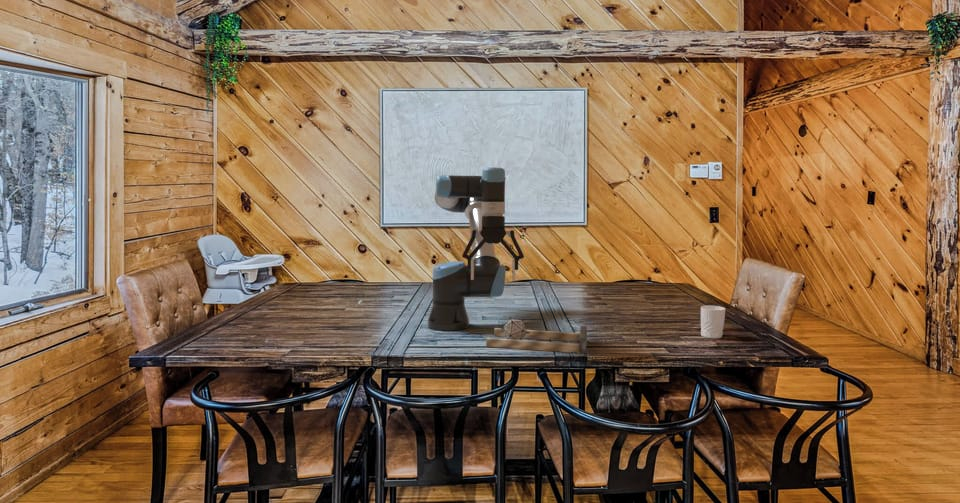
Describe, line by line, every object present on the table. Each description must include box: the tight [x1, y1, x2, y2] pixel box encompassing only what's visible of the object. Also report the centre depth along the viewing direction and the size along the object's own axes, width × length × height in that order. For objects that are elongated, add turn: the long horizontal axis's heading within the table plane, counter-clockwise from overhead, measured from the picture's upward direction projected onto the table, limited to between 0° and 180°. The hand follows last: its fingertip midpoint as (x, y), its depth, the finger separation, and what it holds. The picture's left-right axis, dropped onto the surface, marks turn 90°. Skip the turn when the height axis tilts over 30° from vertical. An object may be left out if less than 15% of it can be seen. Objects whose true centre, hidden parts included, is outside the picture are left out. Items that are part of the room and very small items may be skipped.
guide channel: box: [485, 325, 588, 354], centre depth 182 cm, size 31×15×5 cm, turn 78°
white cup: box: [700, 304, 726, 339], centre depth 193 cm, size 8×8×10 cm
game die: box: [500, 316, 529, 340], centre depth 183 cm, size 9×8×10 cm
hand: (492, 279), depth 185 cm, fingers open, 13 cm apart
